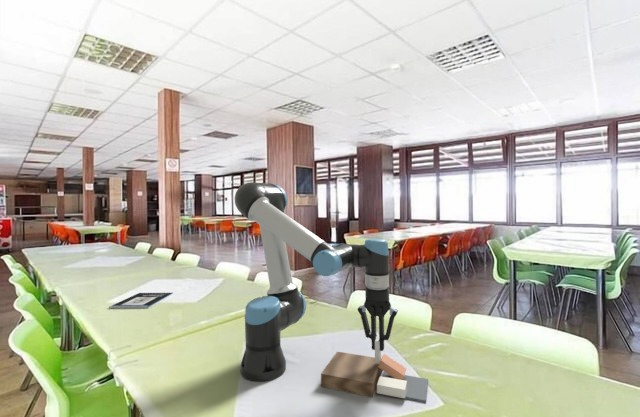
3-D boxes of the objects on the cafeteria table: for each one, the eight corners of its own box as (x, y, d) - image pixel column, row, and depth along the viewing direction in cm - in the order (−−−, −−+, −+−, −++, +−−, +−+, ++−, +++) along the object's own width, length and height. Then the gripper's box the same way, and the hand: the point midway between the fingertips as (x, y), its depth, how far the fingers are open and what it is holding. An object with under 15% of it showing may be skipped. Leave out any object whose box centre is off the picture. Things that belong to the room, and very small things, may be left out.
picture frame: (173, 294, 207) (173, 291, 207) (147, 310, 177) (147, 306, 177) (139, 294, 208) (139, 291, 208) (107, 310, 178) (107, 306, 178)
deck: (321, 386, 101) (321, 373, 101) (337, 362, 116) (337, 351, 116) (372, 397, 95) (372, 383, 95) (382, 370, 110) (382, 358, 110)
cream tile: (376, 393, 96) (376, 384, 96) (380, 384, 101) (380, 376, 101) (405, 398, 93) (405, 389, 93) (406, 389, 98) (406, 380, 98)
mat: (376, 392, 97) (376, 390, 97) (383, 373, 108) (383, 371, 108) (426, 402, 92) (426, 400, 92) (428, 380, 103) (428, 379, 103)
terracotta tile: (377, 366, 104) (381, 360, 104) (380, 359, 109) (384, 353, 108) (400, 382, 102) (404, 376, 101) (402, 374, 106) (406, 368, 106)
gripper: (354, 288, 105) (355, 361, 105) (395, 291, 100) (397, 368, 101) (360, 283, 112) (361, 351, 112) (399, 285, 107) (400, 357, 108)
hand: (378, 359), depth 106 cm, fingers closed
